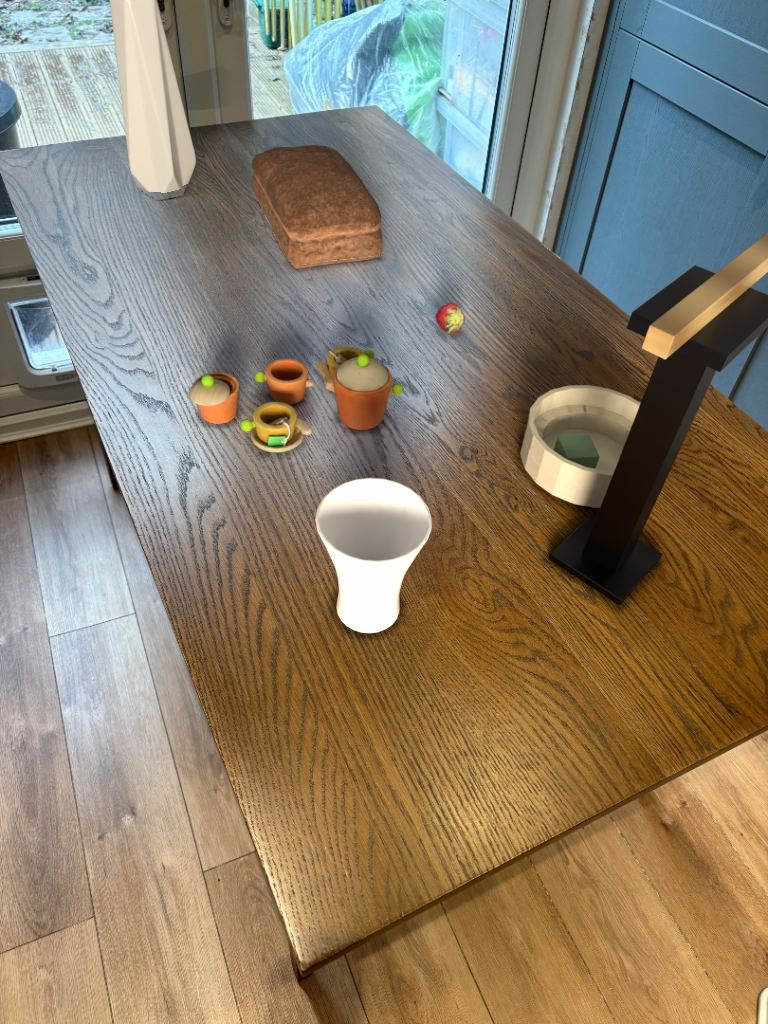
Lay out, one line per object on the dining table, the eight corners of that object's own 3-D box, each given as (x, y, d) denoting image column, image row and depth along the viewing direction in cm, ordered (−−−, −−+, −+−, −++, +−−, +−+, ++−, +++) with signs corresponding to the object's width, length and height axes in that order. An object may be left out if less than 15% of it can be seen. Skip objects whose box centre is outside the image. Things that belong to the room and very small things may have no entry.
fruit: (455, 317, 115) (459, 288, 112) (467, 339, 111) (472, 310, 108) (429, 320, 114) (432, 290, 111) (440, 342, 111) (444, 312, 107)
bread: (335, 188, 144) (336, 125, 136) (386, 262, 126) (391, 194, 117) (248, 196, 140) (243, 131, 132) (288, 274, 121) (285, 205, 113)
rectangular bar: (770, 243, 68) (779, 222, 66) (791, 252, 67) (801, 230, 66) (640, 348, 55) (649, 325, 54) (665, 360, 54) (674, 336, 53)
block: (581, 458, 94) (589, 434, 91) (591, 480, 91) (600, 456, 88) (550, 460, 93) (557, 435, 90) (559, 482, 90) (567, 458, 88)
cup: (295, 609, 76) (290, 519, 66) (363, 551, 82) (368, 461, 72) (372, 670, 72) (380, 583, 62) (439, 605, 78) (455, 516, 68)
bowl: (649, 434, 99) (664, 398, 94) (653, 523, 88) (670, 486, 83) (525, 412, 100) (534, 375, 96) (513, 496, 89) (523, 459, 85)
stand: (593, 515, 88) (689, 262, 65) (662, 557, 84) (791, 304, 61) (541, 566, 82) (626, 309, 59) (612, 614, 78) (734, 358, 55)
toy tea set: (362, 358, 107) (365, 297, 100) (413, 423, 97) (420, 361, 90) (182, 401, 98) (170, 339, 91) (219, 478, 89) (210, 414, 82)
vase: (115, 191, 138) (71, -24, 114) (166, 174, 144) (134, -34, 121) (158, 213, 133) (121, -7, 109) (208, 194, 139) (184, -18, 116)
